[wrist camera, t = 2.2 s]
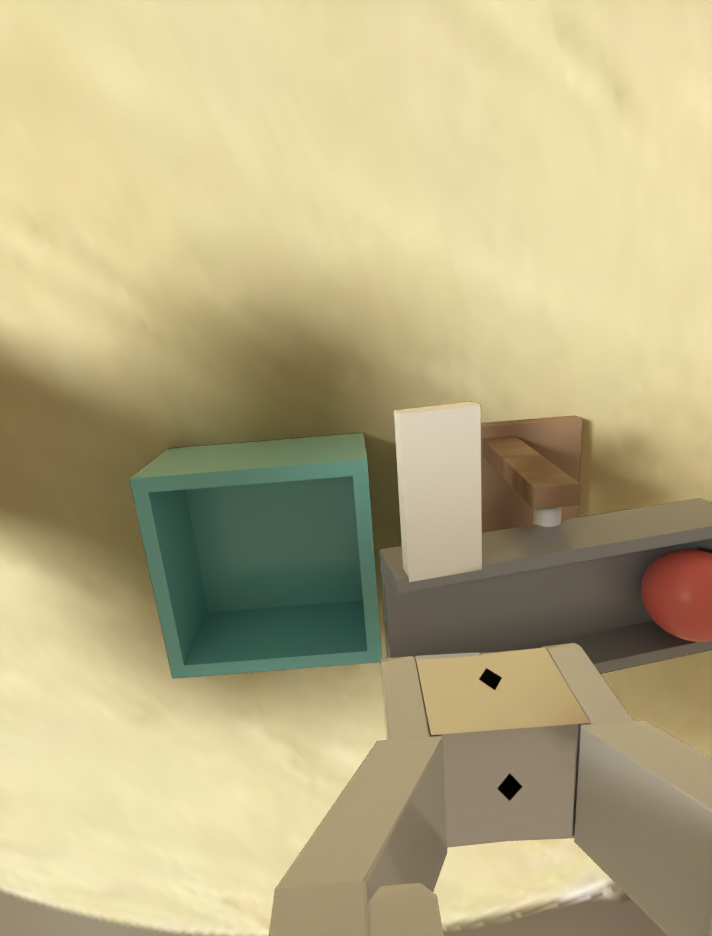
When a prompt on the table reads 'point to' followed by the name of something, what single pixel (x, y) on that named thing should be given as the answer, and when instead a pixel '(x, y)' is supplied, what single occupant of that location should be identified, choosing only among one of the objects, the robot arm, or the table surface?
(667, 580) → the ball
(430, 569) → the tilting lever
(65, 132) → the table surface
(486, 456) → the lever stand
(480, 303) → the table surface
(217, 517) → the cup
